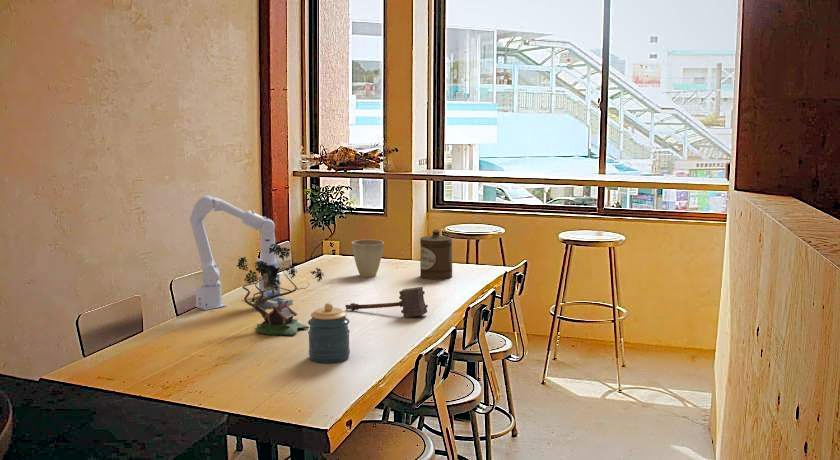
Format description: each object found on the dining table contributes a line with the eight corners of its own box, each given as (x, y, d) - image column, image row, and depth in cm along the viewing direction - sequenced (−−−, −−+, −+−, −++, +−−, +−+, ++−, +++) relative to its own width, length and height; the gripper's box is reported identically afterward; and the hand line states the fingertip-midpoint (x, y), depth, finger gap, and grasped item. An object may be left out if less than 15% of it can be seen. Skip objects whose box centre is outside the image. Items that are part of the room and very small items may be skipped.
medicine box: (266, 297, 354) (265, 277, 353) (259, 296, 357) (258, 275, 355) (280, 294, 360) (279, 274, 359) (273, 292, 363) (272, 272, 362)
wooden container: (415, 275, 400) (415, 228, 397) (443, 272, 406) (443, 226, 403) (428, 281, 387) (428, 233, 384) (457, 278, 393) (458, 230, 390)
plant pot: (347, 277, 394) (346, 243, 391) (358, 271, 408) (358, 238, 405) (377, 279, 389) (377, 245, 387) (388, 273, 403) (388, 240, 401)
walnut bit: (268, 289, 338) (268, 274, 337) (263, 288, 341) (263, 273, 340) (275, 288, 340) (275, 273, 340) (270, 287, 343) (270, 272, 342)
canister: (329, 349, 279) (328, 296, 276) (358, 356, 271) (357, 302, 268) (300, 358, 269) (298, 303, 266) (329, 366, 261) (328, 310, 258)
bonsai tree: (221, 337, 293) (218, 246, 289) (259, 320, 316) (256, 236, 311) (312, 347, 281) (310, 252, 276) (344, 329, 304) (343, 241, 299)
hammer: (422, 315, 317) (418, 289, 317) (345, 324, 330) (340, 299, 329) (429, 311, 324) (424, 285, 323) (352, 320, 336) (348, 296, 335)
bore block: (273, 308, 335) (273, 303, 335) (260, 304, 342) (260, 299, 341) (292, 304, 341) (292, 299, 341) (279, 300, 348) (279, 296, 347)
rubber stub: (261, 310, 332) (261, 300, 331) (256, 308, 334) (256, 298, 334) (269, 309, 334) (268, 299, 334) (264, 307, 337) (264, 297, 336)
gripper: (287, 250, 336) (288, 284, 338) (266, 246, 346) (267, 279, 348) (271, 253, 331) (273, 287, 333) (251, 248, 341) (252, 281, 343)
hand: (269, 283), depth 340 cm, fingers closed on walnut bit, 3 cm apart
